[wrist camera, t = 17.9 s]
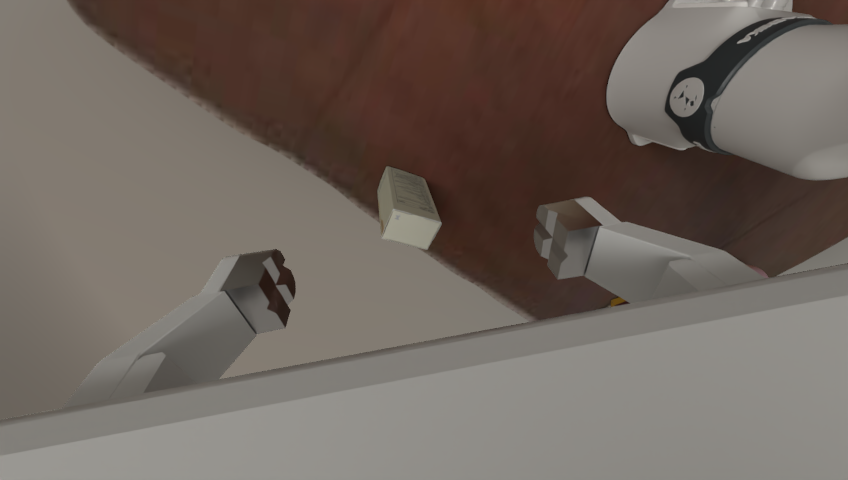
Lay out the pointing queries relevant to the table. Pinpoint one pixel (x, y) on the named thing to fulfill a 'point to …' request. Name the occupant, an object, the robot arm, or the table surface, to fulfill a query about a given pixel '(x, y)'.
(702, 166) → the table surface
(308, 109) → the table surface
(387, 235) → the skincare box
